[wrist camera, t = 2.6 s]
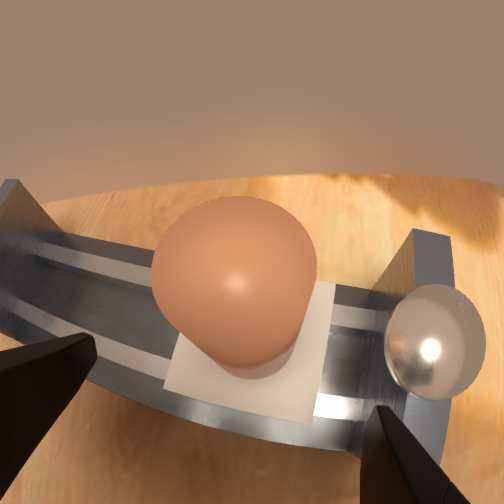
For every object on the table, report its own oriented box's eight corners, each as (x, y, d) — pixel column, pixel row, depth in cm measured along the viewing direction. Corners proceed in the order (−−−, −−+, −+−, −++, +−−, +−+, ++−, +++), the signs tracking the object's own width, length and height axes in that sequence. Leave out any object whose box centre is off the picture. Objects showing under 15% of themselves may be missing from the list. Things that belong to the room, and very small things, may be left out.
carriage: (330, 294, 16) (378, 177, 8) (307, 422, 13) (357, 442, 5) (208, 272, 17) (158, 150, 9) (173, 390, 14) (63, 358, 6)
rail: (407, 304, 19) (476, 234, 11) (388, 450, 14) (470, 470, 6) (50, 236, 24) (-6, 174, 16) (9, 333, 19) (-65, 290, 11)
